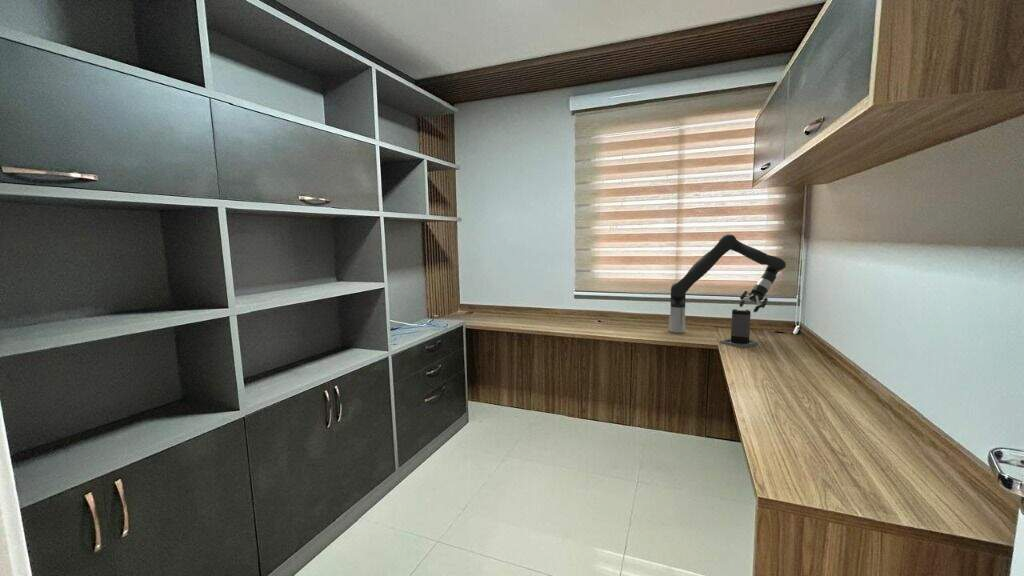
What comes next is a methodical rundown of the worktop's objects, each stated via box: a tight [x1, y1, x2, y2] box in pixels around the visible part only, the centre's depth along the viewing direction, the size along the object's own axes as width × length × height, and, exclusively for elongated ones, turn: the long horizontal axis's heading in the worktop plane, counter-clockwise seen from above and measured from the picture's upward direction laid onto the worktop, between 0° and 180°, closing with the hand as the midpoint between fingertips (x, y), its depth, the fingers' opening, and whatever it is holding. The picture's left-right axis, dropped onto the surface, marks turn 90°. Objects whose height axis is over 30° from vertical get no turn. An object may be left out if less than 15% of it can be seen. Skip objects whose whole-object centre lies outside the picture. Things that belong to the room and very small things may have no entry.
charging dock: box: [719, 337, 759, 349], centre depth 234 cm, size 13×16×2 cm
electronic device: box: [730, 308, 751, 345], centre depth 232 cm, size 9×6×20 cm, turn 62°
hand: (747, 309), depth 240 cm, fingers open, 8 cm apart
